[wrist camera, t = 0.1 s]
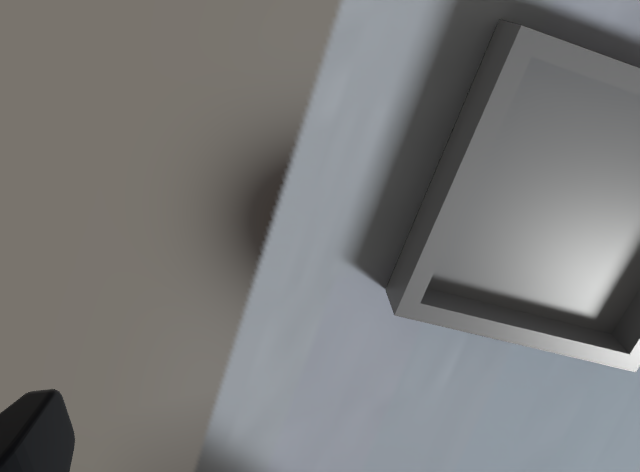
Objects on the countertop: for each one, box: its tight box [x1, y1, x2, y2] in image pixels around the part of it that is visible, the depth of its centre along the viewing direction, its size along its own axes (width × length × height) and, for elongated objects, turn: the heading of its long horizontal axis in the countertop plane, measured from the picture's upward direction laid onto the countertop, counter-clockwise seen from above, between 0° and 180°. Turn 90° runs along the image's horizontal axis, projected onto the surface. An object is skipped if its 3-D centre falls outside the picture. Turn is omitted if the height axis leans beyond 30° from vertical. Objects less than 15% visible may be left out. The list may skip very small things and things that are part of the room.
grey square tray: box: [386, 19, 640, 372], centre depth 23 cm, size 12×12×2 cm
